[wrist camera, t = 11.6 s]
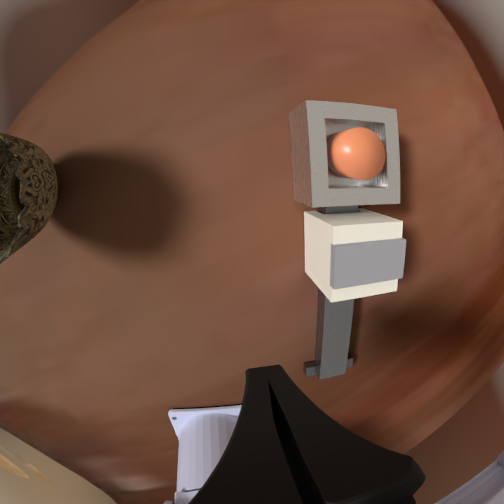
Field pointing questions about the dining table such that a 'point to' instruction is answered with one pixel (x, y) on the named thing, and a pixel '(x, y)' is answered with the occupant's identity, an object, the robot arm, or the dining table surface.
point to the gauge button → (356, 154)
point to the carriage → (353, 253)
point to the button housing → (315, 154)
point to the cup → (24, 192)
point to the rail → (332, 327)
